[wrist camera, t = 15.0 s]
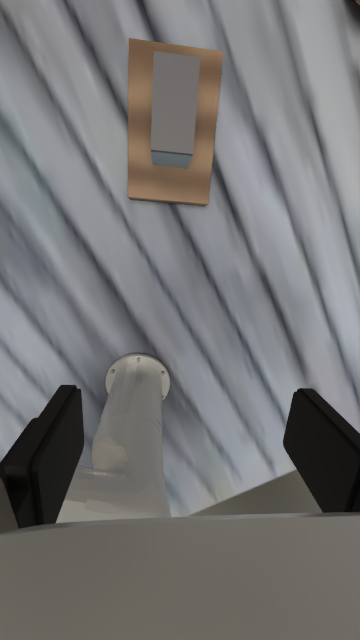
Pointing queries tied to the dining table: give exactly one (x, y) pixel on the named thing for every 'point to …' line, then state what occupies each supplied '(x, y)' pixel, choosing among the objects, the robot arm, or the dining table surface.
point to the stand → (142, 174)
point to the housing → (174, 108)
